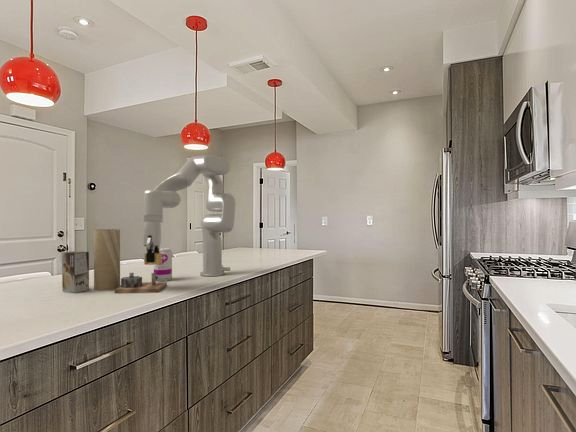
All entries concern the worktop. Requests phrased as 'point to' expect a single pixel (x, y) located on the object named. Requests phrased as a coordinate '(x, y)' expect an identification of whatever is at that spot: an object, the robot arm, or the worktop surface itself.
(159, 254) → the brass gear
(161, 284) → the gear board
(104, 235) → the tube
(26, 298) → the worktop surface
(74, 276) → the coffee box
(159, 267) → the supplement can
